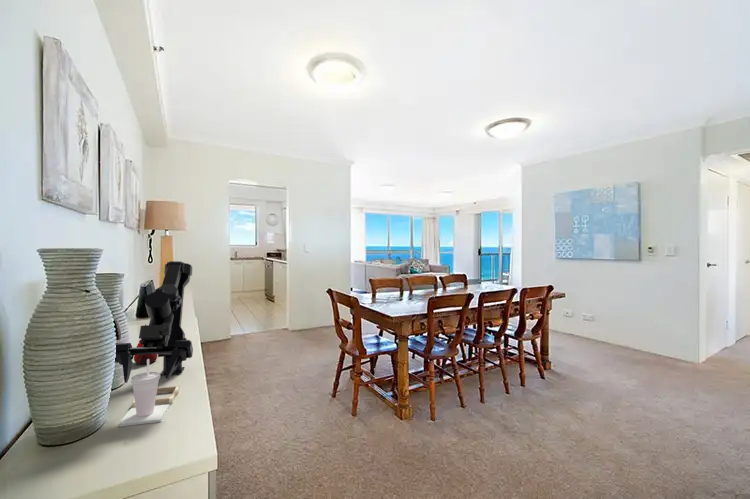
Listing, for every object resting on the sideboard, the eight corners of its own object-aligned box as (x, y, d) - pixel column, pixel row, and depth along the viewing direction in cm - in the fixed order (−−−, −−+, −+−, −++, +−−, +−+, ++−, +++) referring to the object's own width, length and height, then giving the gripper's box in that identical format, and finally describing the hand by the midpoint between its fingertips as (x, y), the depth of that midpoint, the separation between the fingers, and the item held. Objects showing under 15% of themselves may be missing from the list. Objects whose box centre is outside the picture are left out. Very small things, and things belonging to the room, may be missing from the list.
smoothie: (145, 420, 86) (146, 363, 86) (123, 417, 87) (124, 361, 87) (165, 409, 92) (166, 356, 92) (145, 406, 93) (146, 354, 93)
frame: (143, 393, 103) (143, 388, 103) (179, 390, 106) (179, 385, 106) (132, 407, 94) (132, 402, 94) (172, 403, 97) (172, 398, 97)
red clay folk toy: (159, 359, 135) (160, 320, 136) (154, 364, 129) (155, 324, 129) (136, 360, 133) (137, 321, 133) (130, 366, 126) (131, 325, 126)
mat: (131, 410, 92) (131, 408, 92) (169, 406, 95) (169, 404, 95) (118, 426, 84) (118, 424, 84) (160, 421, 87) (160, 419, 87)
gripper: (113, 313, 92) (93, 368, 81) (192, 311, 97) (183, 362, 87) (124, 336, 99) (106, 389, 88) (196, 332, 105) (188, 382, 94)
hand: (146, 380), depth 89 cm, fingers open, 9 cm apart
